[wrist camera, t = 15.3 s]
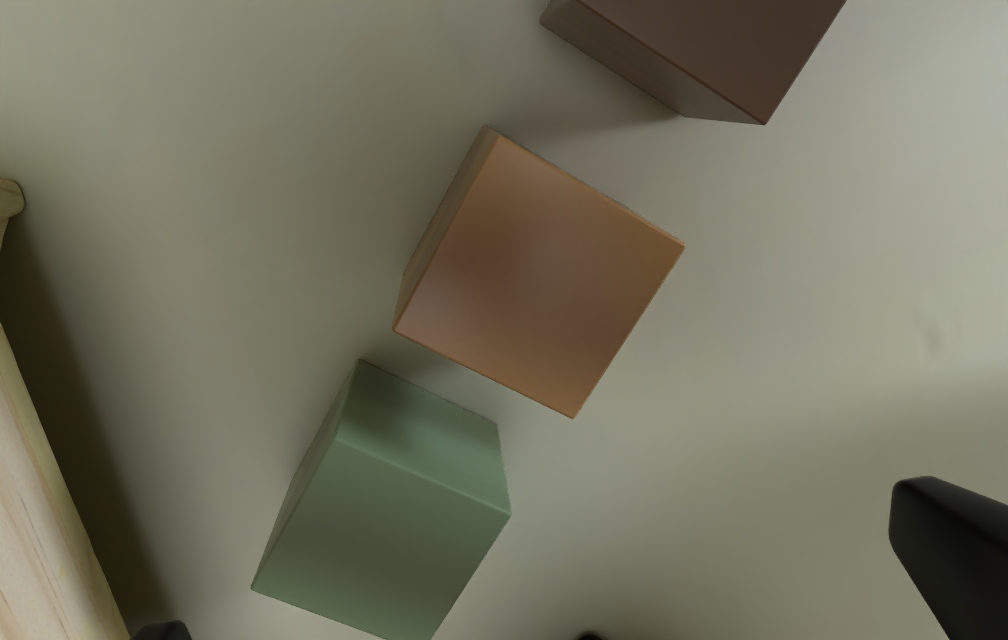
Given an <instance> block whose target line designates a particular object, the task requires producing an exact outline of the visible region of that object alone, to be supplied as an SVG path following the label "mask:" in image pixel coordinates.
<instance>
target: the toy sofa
mask: <svg viewBox="0 0 1008 640" xmlns="http://www.w3.org/2000/svg"><path fill="white" fill-rule="evenodd" d="M23 208H24V199H23V196H22V193H21V190H20V188H19V187H18V185H17V184H16V183H15V182H12V181H9V180H6V179H0V251H1V245H2V240H3V235H4V232H5V229H6V227H7V224H8V220H9V217H11V216H13V215H16V214H18V213H19V212H21V211H22V209H23ZM129 639H131V638H130V636H129V634H128V631H127V629H126V626H125V624H124V622H123V619H122V617H121V614H120V612H119V610H118V607H117V605H116V602H115V600H114V597H113V595H112V592H111V590H110V587H109V585H108V582H107V580H106V577H105V575H104V573H103V571H102V568H101V566H100V564H99V561H98V559H97V558H96V556H95V554H94V551H93V548H92V545H91V542H90V540H89V537H88V535H87V533H86V530H85V528H84V526H83V523H82V521H81V519H80V516H79V514H78V512H77V510H76V507H75V505H74V503H73V500H72V498H71V496H70V493H69V491H68V489H67V486H66V484H65V481H64V479H63V476H62V474H61V471H60V469H59V467H58V464H57V462H56V459H55V457H54V454H53V452H52V449H51V447H50V444H49V442H48V440H47V437H46V435H45V432H44V430H43V427H42V425H41V422H40V420H39V417H38V415H37V413H36V410H35V408H34V405H33V403H32V400H31V398H30V395H29V393H28V390H27V388H26V385H25V383H24V380H23V378H22V376H21V373H20V371H19V368H18V365H17V363H16V360H15V357H14V354H13V352H12V349H11V347H10V344H9V342H8V340H7V337H6V335H5V332H4V330H3V328H2V325H1V323H0V640H129Z"/></svg>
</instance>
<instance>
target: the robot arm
mask: <svg viewBox="0 0 1008 640" xmlns="http://www.w3.org/2000/svg"><path fill="white" fill-rule="evenodd" d="M888 531H889V539H890V543H891V546H892V548H893V550H894V552H895V554H896V555H897V557H898V559H899V560H900V562H901V563H902V565H903V566H904V568H905V570H906V571H907V573H908V574H909V576H910V578H911V579H912V581H913V582H914V584H915V585H916V587H917V589H918V590H919V592H920V593H921V595H922V596H923V598H924V600H925V601H926V603H927V604H928V606H929V608H930V609H931V611H932V612H933V614H934V615H935V617H936V619H937V620H938V622H939V623H940V625H941V627H942V628H943V630H944V631H945V633H946V634H947V636H948V638H949V639H950V640H1008V505H1006V504H1004V503H1001V502H998V501H996V500H993V499H991V498H988V497H985V496H983V495H980V494H977V493H975V492H972V491H970V490H967V489H964V488H962V487H959V486H956V485H954V484H951V483H949V482H946V481H943V480H941V479H938V478H935V477H932V476H920V477H915V478H909V479H904V480H900V481H898V482H897V483H896V484H895V485H894V487H893V490H892V498H891V508H890V519H889V529H888ZM129 640H192V638H191V636H190V634H189V632H188V629H187V627H186V626H185V624H184V623H183V622H182V621H180V620H170V621H165V622H160V623H154V624H150V625H147V626H145V627H143V628H142V629H140V630H139V631H138V632H137V633H136V634H135V635H134V636H133V637H132V638H131V639H129ZM579 640H602V639H600V638H599V637H597V636H594V635H586V636H583V637H581V638H580V639H579Z"/></svg>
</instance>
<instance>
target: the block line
mask: <svg viewBox="0 0 1008 640" xmlns="http://www.w3.org/2000/svg"><path fill="white" fill-rule="evenodd" d="M846 1H847V0H550V1H549V3H548V5H547V7H546V9H545V11H544V13H543V14H542V16H541V18H540V20H539V23H540V24H541V25H543V26H544V27H546V28H548V29H549V30H551V31H552V32H554V33H555V34H557V35H558V36H560V37H561V38H563V39H565V40H566V41H568V42H569V43H571V44H572V45H574V46H575V47H577V48H579V49H580V50H582V51H583V52H585V53H586V54H588V55H589V56H591V57H592V58H594V59H596V60H597V61H599V62H600V63H602V64H603V65H605V66H606V67H608V68H610V69H611V70H613V71H614V72H616V73H617V74H619V75H620V76H622V77H623V78H625V79H627V80H628V81H630V82H631V83H633V84H634V85H636V86H637V87H639V88H640V89H642V90H644V91H645V92H647V93H648V94H650V95H651V96H653V97H654V98H656V99H658V100H659V101H661V102H662V103H664V104H665V105H667V106H668V107H670V108H671V109H673V110H675V111H676V112H678V113H679V114H681V115H682V116H684V117H688V118H698V119H708V120H718V121H728V122H738V123H748V124H757V125H765V124H767V122H768V121H769V119H770V118H771V116H772V114H773V113H774V111H775V110H776V108H777V107H778V105H779V104H780V102H781V101H782V99H783V98H784V96H785V94H786V93H787V91H788V90H789V88H790V87H791V85H792V84H793V82H794V81H795V79H796V78H797V76H798V74H799V73H800V71H801V70H802V68H803V67H804V65H805V64H806V62H807V61H808V59H809V58H810V56H811V54H812V53H813V51H814V50H815V48H816V47H817V45H818V44H819V42H820V41H821V39H822V38H823V36H824V34H825V33H826V31H827V30H828V28H829V27H830V25H831V24H832V22H833V21H834V19H835V18H836V16H837V14H838V13H839V11H840V10H841V8H842V7H843V5H844V4H845V2H846ZM685 247H686V245H685V244H684V243H683V242H681V241H680V240H678V239H677V238H675V237H673V236H672V235H670V234H668V233H667V232H665V231H664V230H662V229H660V228H659V227H657V226H655V225H654V224H652V223H651V222H649V221H647V220H646V219H644V218H643V217H641V216H639V215H638V214H636V213H634V212H633V211H631V210H630V209H628V208H626V207H625V206H623V205H621V204H619V203H618V202H616V201H614V200H613V199H611V198H609V197H608V196H606V195H604V194H603V193H601V192H599V191H597V190H596V189H594V188H592V187H591V186H589V185H587V184H586V183H584V182H582V181H581V180H579V179H577V178H575V177H574V176H572V175H570V174H569V173H567V172H565V171H564V170H562V169H560V168H559V167H557V166H555V165H553V164H552V163H550V162H548V161H547V160H545V159H543V158H542V157H540V156H538V155H536V154H535V153H533V152H531V151H530V150H528V149H526V148H525V147H523V146H521V145H520V144H518V143H516V142H514V141H513V140H511V139H509V138H508V137H506V136H504V135H503V134H501V133H499V132H498V131H496V130H494V129H492V128H491V127H489V126H487V125H483V126H482V128H481V130H480V132H479V133H478V135H477V137H476V139H475V141H474V143H473V145H472V146H471V148H470V150H469V152H468V154H467V156H466V158H465V159H464V161H463V163H462V165H461V167H460V169H459V171H458V172H457V174H456V176H455V178H454V180H453V182H452V184H451V185H450V187H449V189H448V191H447V193H446V195H445V197H444V198H443V200H442V202H441V204H440V206H439V208H438V210H437V211H436V213H435V215H434V217H433V219H432V221H431V223H430V224H429V226H428V228H427V230H426V232H425V234H424V236H423V237H422V239H421V241H420V243H419V245H418V247H417V249H416V250H415V252H414V254H413V256H412V258H411V260H410V262H409V263H408V265H407V267H406V269H405V271H404V273H403V277H402V282H401V287H400V291H399V296H398V301H397V306H396V311H395V316H394V321H393V325H392V331H393V332H395V333H397V334H399V335H401V336H403V337H405V338H407V339H409V340H411V341H413V342H415V343H418V344H420V345H422V346H424V347H426V348H428V349H430V350H432V351H434V352H436V353H438V354H440V355H442V356H444V357H446V358H448V359H450V360H452V361H454V362H456V363H458V364H461V365H463V366H465V367H467V368H469V369H471V370H473V371H475V372H477V373H479V374H481V375H483V376H485V377H487V378H489V379H491V380H493V381H495V382H497V383H499V384H502V385H504V386H506V387H508V388H510V389H512V390H514V391H516V392H518V393H520V394H522V395H524V396H526V397H528V398H530V399H532V400H534V401H536V402H538V403H540V404H542V405H545V406H547V407H549V408H551V409H553V410H555V411H557V412H559V413H561V414H563V415H565V416H567V417H569V418H571V419H574V418H575V417H576V415H577V414H578V412H579V411H580V409H581V408H582V406H583V405H584V403H585V402H586V400H587V398H588V397H589V395H590V394H591V392H592V391H593V389H594V388H595V386H596V385H597V383H598V382H599V380H600V378H601V377H602V375H603V374H604V372H605V371H606V369H607V368H608V366H609V365H610V363H611V362H612V360H613V358H614V357H615V355H616V354H617V352H618V351H619V349H620V348H621V346H622V345H623V343H624V342H625V340H626V338H627V337H628V335H629V334H630V332H631V331H632V329H633V328H634V326H635V325H636V323H637V322H638V320H639V318H640V317H641V315H642V314H643V312H644V311H645V309H646V308H647V306H648V305H649V303H650V302H651V300H652V298H653V297H654V295H655V294H656V292H657V291H658V289H659V288H660V286H661V285H662V283H663V282H664V280H665V278H666V277H667V275H668V274H669V272H670V271H671V269H672V268H673V266H674V265H675V263H676V262H677V260H678V258H679V257H680V255H681V254H682V252H683V251H684V249H685ZM511 514H512V512H511V506H510V500H509V494H508V488H507V483H506V477H505V471H504V465H503V459H502V453H501V447H500V441H499V435H498V429H497V425H496V424H495V423H493V422H491V421H489V420H487V419H485V418H483V417H480V416H478V415H476V414H474V413H472V412H470V411H468V410H466V409H463V408H461V407H459V406H457V405H455V404H453V403H451V402H449V401H446V400H444V399H442V398H440V397H438V396H436V395H434V394H432V393H429V392H427V391H425V390H423V389H421V388H419V387H417V386H415V385H413V384H410V383H408V382H406V381H404V380H402V379H400V378H398V377H396V376H393V375H391V374H389V373H387V372H385V371H383V370H381V369H379V368H376V367H374V366H372V365H370V364H368V363H366V362H364V361H362V360H359V359H358V360H357V361H356V362H355V364H354V366H353V368H352V369H351V371H350V373H349V375H348V377H347V379H346V381H345V382H344V384H343V386H342V388H341V390H340V392H339V394H338V395H337V397H336V399H335V401H334V403H333V405H332V407H331V408H330V410H329V412H328V414H327V416H326V418H325V420H324V421H323V423H322V425H321V427H320V429H319V431H318V433H317V434H316V436H315V438H314V440H313V442H312V444H311V446H310V447H309V449H308V451H307V453H306V455H305V457H304V459H303V460H302V462H301V464H300V466H299V468H298V470H297V472H296V473H295V475H294V477H293V479H292V481H291V483H290V485H289V488H288V491H287V493H286V496H285V498H284V501H283V504H282V506H281V509H280V511H279V514H278V517H277V519H276V522H275V524H274V527H273V530H272V532H271V535H270V537H269V540H268V543H267V545H266V548H265V550H264V553H263V556H262V558H261V561H260V563H259V566H258V569H257V571H256V574H255V577H254V579H253V582H252V584H251V589H252V590H253V591H256V592H258V593H261V594H264V595H266V596H269V597H272V598H275V599H277V600H280V601H283V602H286V603H288V604H291V605H294V606H296V607H299V608H302V609H305V610H307V611H310V612H313V613H315V614H318V615H321V616H324V617H326V618H329V619H332V620H335V621H337V622H340V623H343V624H345V625H348V626H351V627H354V628H356V629H359V630H362V631H365V632H367V633H370V634H373V635H375V636H378V637H381V638H384V639H386V640H431V638H432V637H433V635H434V634H435V632H436V631H437V629H438V628H439V626H440V624H441V623H442V621H443V620H444V618H445V617H446V615H447V614H448V612H449V611H450V609H451V608H452V606H453V604H454V603H455V601H456V600H457V598H458V597H459V595H460V594H461V592H462V591H463V589H464V588H465V586H466V584H467V583H468V581H469V580H470V578H471V577H472V575H473V574H474V572H475V571H476V569H477V568H478V566H479V564H480V563H481V561H482V560H483V558H484V557H485V555H486V554H487V552H488V551H489V549H490V548H491V546H492V544H493V543H494V541H495V540H496V538H497V537H498V535H499V534H500V532H501V531H502V529H503V528H504V526H505V524H506V523H507V521H508V520H509V518H510V517H511Z"/></svg>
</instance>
